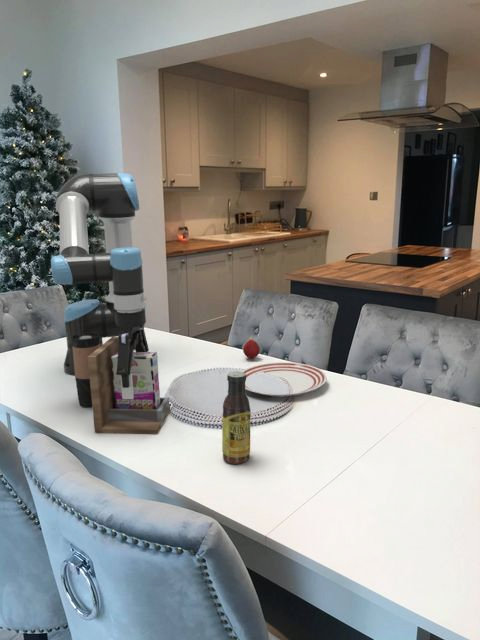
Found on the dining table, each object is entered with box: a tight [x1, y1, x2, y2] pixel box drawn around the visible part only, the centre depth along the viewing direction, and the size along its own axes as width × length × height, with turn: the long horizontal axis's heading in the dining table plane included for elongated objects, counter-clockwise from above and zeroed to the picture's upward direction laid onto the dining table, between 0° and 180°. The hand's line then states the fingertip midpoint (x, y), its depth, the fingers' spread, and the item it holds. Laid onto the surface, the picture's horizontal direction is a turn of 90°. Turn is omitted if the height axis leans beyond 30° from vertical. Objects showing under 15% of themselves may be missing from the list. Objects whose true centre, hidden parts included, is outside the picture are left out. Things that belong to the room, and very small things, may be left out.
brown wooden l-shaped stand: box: [88, 336, 171, 435], centre depth 137 cm, size 18×16×20 cm
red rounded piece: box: [242, 337, 261, 361], centre depth 186 cm, size 6×6×8 cm
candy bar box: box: [111, 351, 161, 409], centre depth 139 cm, size 11×5×16 cm, turn 83°
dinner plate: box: [241, 361, 327, 397], centre depth 161 cm, size 28×27×3 cm
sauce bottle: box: [221, 370, 252, 465], centre depth 115 cm, size 6×6×20 cm
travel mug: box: [72, 333, 100, 409], centre depth 149 cm, size 8×8×20 cm
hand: (135, 388), depth 138 cm, fingers open, 13 cm apart
